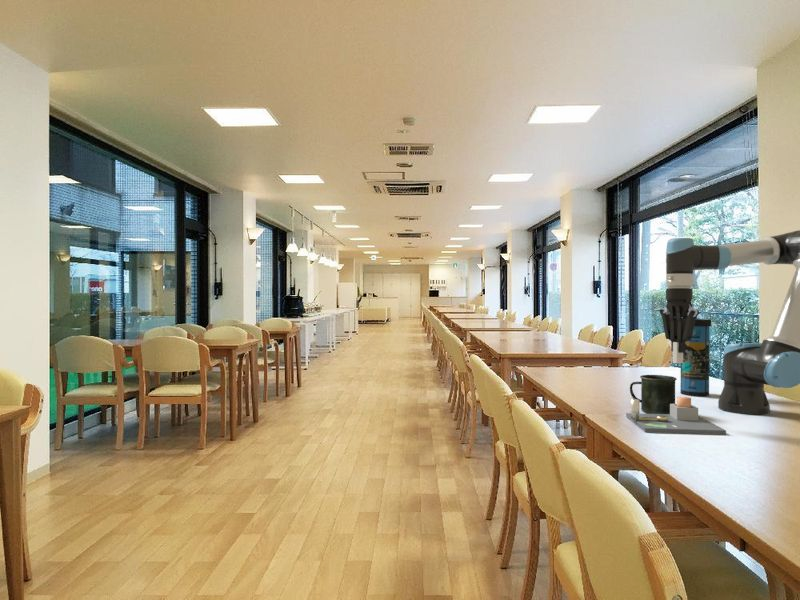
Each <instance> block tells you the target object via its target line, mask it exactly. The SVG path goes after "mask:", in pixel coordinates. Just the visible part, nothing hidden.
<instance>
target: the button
mask: <svg viewBox="0 0 800 600" xmlns="http://www.w3.org/2000/svg"><path fill="white" fill-rule="evenodd" d="M676 404H677V407H688V408H691V405H692V397H690V396H689V397H688V396H676Z"/></svg>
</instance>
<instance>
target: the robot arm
mask: <svg viewBox="0 0 800 600" xmlns="http://www.w3.org/2000/svg"><path fill="white" fill-rule="evenodd" d="M665 250H666V251H665V257H666V258H665V267H666V268H665V273H666V274H665V286H666V287H667V288H666V289H665V300H666V304H665V307H664V308H662V309H659V311H658V312H659V313H660V316H661V318H662V319H661V320H662V324H663V325H662V326H663V331H664V336H665V339H666V340H669V341H670V342H671V343H670V344H671V345H670V346H671V347H670V350H671V353H672V364H681V363H683V353H684V352H685V342H686V341H690V340H691V338H692V334H693V330H694V326H695V321H696V319H698V316H699V314H700V311H699V310H698V309H697V310H696V309H694V307H693V304H692V300H693V296H694V295H693V288H691V287H693V286H694V271H703V270H706V271H707V270H714V271H717V270H725V269H727V268H729V267H733V266H741V265H742V266H743V265H750V264H751V265H752V264H759V263H760V264H761V263H763V265H764V264H765V265H768V266H769V265H792V266H794V267H795V269H796V270H795V271H794V275H793V277H792V280H791V282H790V285H789V288H788V290H787V293H786V296H785V298H784V300H783V303H782V306H781V307H780V308H781V309H780V311H779V313H778V316H777V319H776V322H775V324H774V327H773V329H772V332H771V335H770V336H768V337H765V338H764V339H762V342H752V343H751V342H747V343H745V342H744V343H728V344H726V345H725V346H724V352H723V369H724V370H723V371H724V373H723V381H724V382H723V384H724V385H723V388H722V391H721V394H720V396H719V399H718V401H717V402H718V405H717V408H718V409H720V410H722V411H726V412H731V413H736V414H737V413H738V414H746V415H765V414H769V413H771V405H770V402H769V400H768V396H767V394H766V391H765V385H767V386H771V387H773V388H782V389H791V388H794V387H796V386H798V385H800V230H795V231H790V232H786V233H782V234H778V235H773V236H766V237H765V236H764V237H763V238H762V239H761V240H754V241H744V242H736V243H734V242H733V243H727V244H726V243H725V244H714V245H709V244H708V245H707V244H706V245H705V244H704V245H702V244H700V245H697V244H695V242H694V239H693V238H691V237H674V238H669V239H668V240H667V243H666V249H665Z"/></svg>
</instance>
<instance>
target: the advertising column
mask: <svg viewBox="0 0 800 600" xmlns="http://www.w3.org/2000/svg"><path fill="white" fill-rule="evenodd" d="M710 327H712V318H711V319H710V318H696V321H695V326H694V330H693V334H692V338H691V340H690V341H686V342H685V352H684V353H683V363H680V394H681V395H684V396H687V397H688V396H689V397H698V398H699V397H709V396H710Z"/></svg>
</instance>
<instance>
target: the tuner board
mask: <svg viewBox="0 0 800 600" xmlns="http://www.w3.org/2000/svg"><path fill="white" fill-rule="evenodd" d="M625 416H626V418H627V419H628V420H629V421H631V422H632V423H633V424H634V425H635V426H637V427H639V429H641V430H642V431H643V432H644V433H656V434H659V433H663V434H687V433H688V435H689V434H690V435H691V434H693V435H694V434H695V435H699V434H700V435H722V436H726V435H727V430H726V429H724V428H723V427H720V426H719V425H716V424H715V423H713V422H711V421H709V420H708V419H706V418H704V417H702V416H700V415H699V407H697V406H695V405H693V404H691V408H688V407H677V403H675V404H670V414H649V413H640V412H639V417H657V416H667V417H668V421H659V420H632V419H631V412H626V413H625Z"/></svg>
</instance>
